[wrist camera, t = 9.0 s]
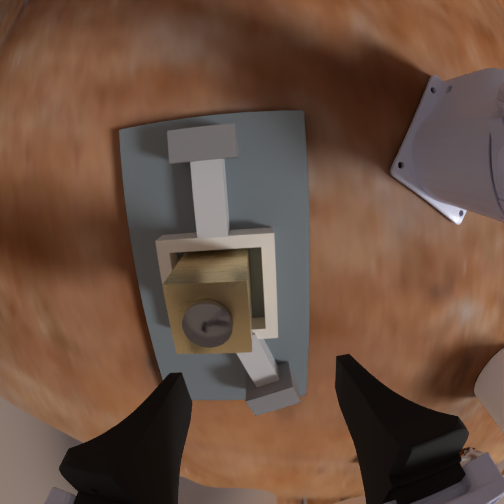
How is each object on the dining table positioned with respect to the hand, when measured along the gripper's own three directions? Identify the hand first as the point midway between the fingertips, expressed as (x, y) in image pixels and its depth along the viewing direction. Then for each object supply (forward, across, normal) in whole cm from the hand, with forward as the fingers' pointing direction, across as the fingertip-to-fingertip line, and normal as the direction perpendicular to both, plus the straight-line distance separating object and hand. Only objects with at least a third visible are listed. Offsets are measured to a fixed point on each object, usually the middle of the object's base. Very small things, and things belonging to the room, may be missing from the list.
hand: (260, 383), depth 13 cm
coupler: (+8, +2, -2) cm, 9 cm away
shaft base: (+9, +2, -2) cm, 10 cm away
